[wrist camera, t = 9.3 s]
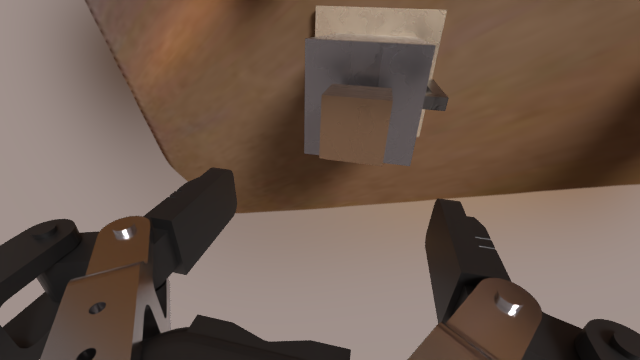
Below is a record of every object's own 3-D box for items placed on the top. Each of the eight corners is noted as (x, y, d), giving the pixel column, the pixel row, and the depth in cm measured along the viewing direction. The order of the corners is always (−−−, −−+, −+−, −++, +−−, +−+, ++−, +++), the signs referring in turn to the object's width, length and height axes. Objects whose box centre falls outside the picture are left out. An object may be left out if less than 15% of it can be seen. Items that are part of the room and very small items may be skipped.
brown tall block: (403, 49, 34) (421, 78, 16) (393, 108, 38) (399, 186, 20) (344, 46, 36) (300, 70, 17) (340, 104, 39) (300, 173, 21)
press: (444, 10, 35) (492, -2, 19) (418, 133, 43) (436, 198, 27) (318, 6, 37) (267, -8, 22) (315, 123, 45) (276, 176, 29)
